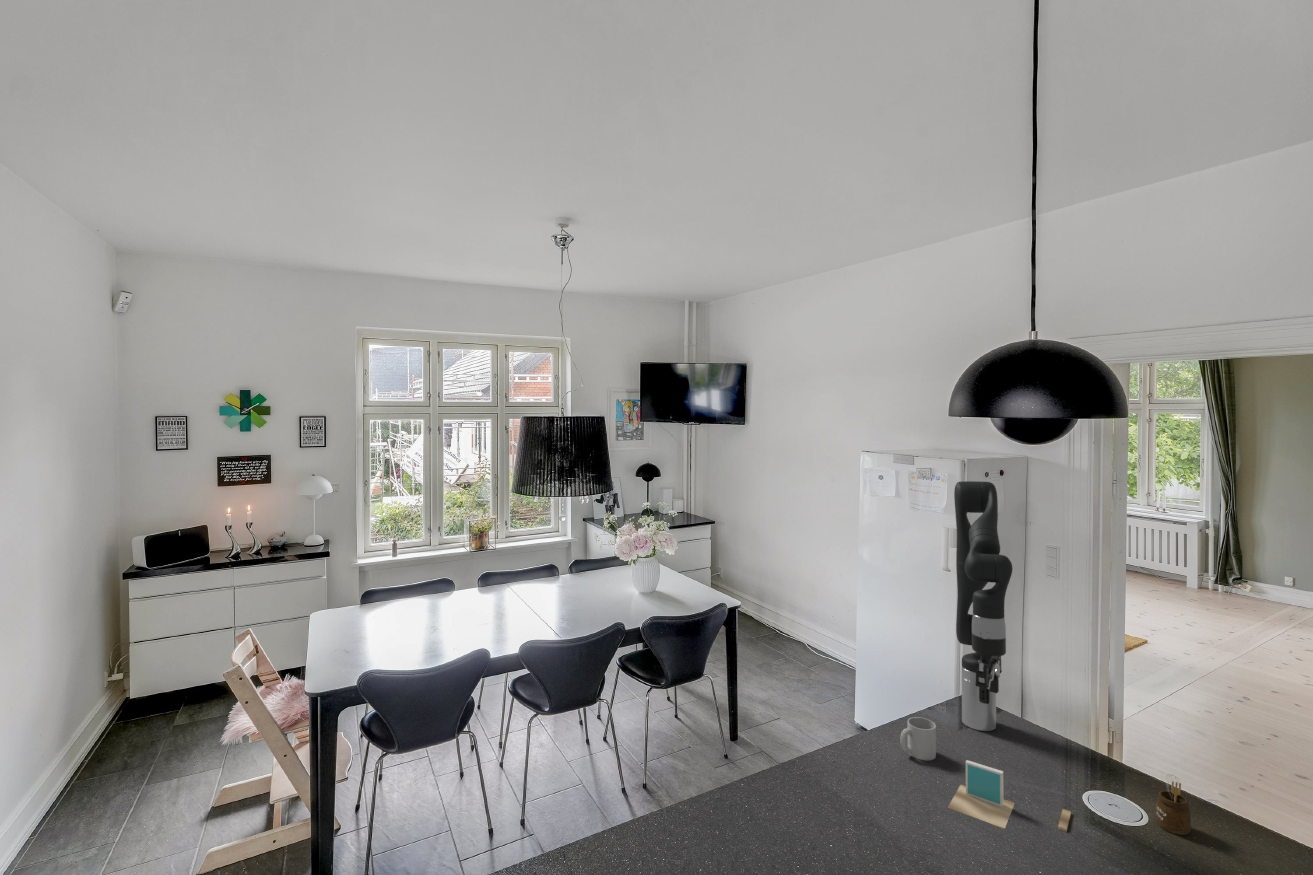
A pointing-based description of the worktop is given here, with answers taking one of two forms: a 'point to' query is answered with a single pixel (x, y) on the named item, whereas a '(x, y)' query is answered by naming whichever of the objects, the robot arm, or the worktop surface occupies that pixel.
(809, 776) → the worktop surface
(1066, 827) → the tan tapered flat part
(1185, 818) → the utensil holder
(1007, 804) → the board
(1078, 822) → the worktop surface
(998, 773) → the tile
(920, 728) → the cup
